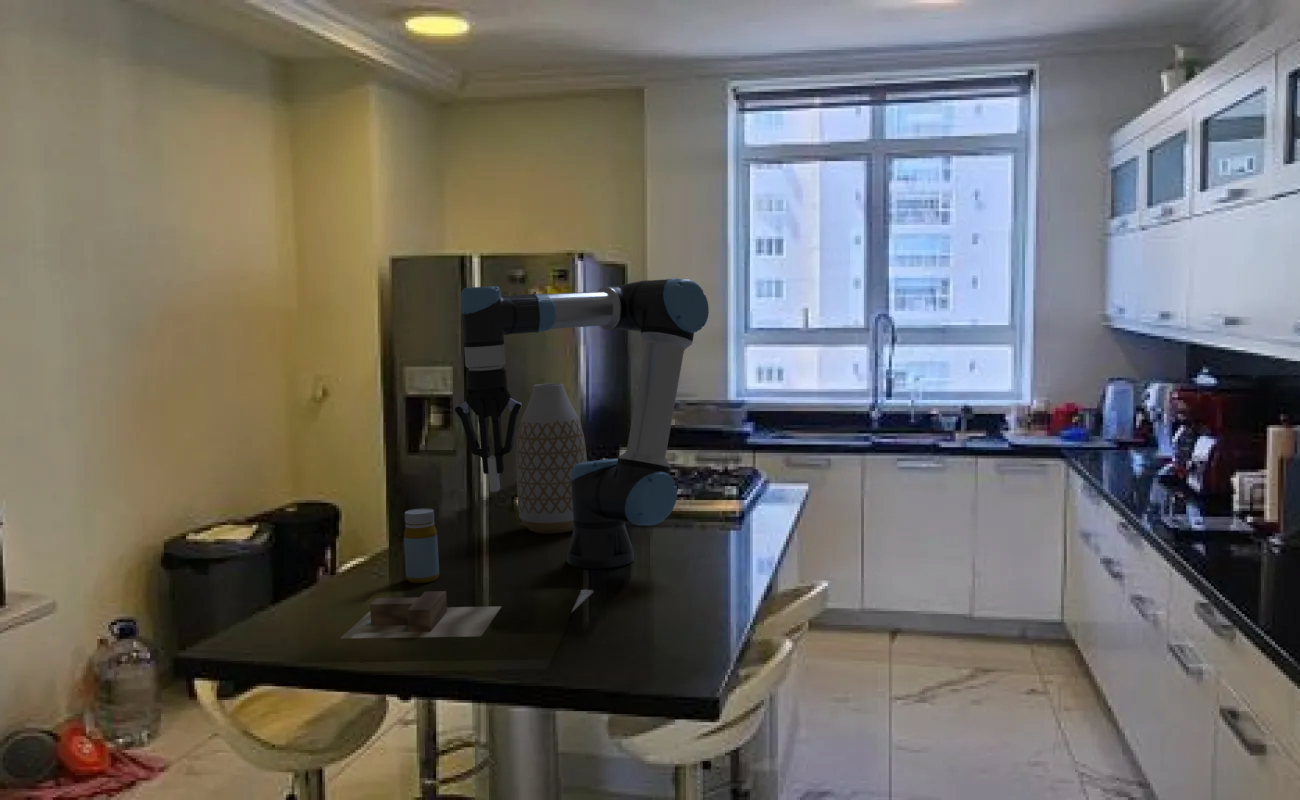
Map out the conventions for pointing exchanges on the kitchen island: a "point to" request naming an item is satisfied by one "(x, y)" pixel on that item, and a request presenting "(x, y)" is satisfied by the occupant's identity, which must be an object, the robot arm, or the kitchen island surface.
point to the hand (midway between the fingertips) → (495, 489)
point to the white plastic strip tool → (582, 597)
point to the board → (450, 625)
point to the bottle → (421, 546)
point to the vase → (548, 460)
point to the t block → (410, 611)
